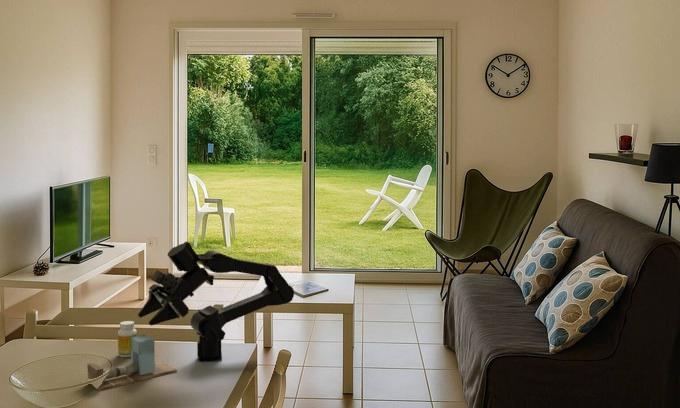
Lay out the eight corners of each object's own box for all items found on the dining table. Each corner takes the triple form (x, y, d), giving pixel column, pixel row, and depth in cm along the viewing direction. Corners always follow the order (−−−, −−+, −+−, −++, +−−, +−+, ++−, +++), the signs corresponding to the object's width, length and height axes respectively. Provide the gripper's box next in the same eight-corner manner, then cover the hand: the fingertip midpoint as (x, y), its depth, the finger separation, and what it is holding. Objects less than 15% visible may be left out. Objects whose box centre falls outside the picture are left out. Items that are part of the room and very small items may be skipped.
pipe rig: (163, 363, 194) (163, 346, 194) (176, 371, 188) (176, 353, 188) (86, 382, 180) (85, 362, 179) (98, 390, 174) (97, 371, 173)
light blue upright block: (145, 366, 189) (144, 334, 188) (154, 371, 185) (154, 339, 184) (131, 369, 187) (130, 337, 186) (141, 375, 182) (140, 342, 181)
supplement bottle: (131, 358, 199) (130, 325, 198) (114, 356, 200) (114, 324, 199) (140, 352, 204) (139, 320, 203) (124, 351, 205) (123, 319, 204)
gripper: (160, 256, 198) (116, 291, 192) (184, 267, 183) (137, 306, 177) (182, 284, 203) (139, 320, 196) (207, 298, 187) (162, 336, 181)
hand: (144, 320), depth 187 cm, fingers open, 9 cm apart
